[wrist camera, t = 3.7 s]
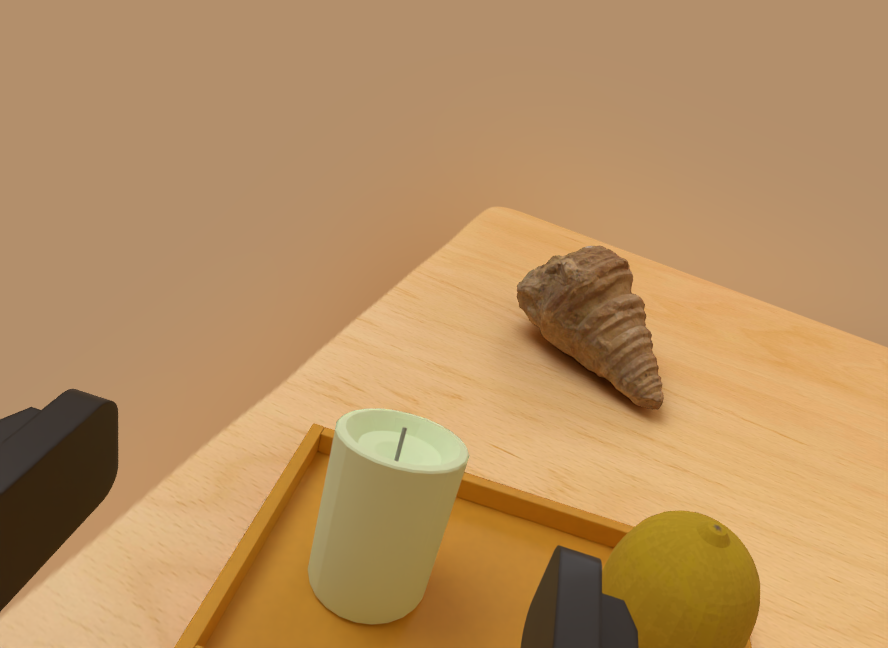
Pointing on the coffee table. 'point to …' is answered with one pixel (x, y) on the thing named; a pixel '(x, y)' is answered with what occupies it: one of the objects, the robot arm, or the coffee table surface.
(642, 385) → the seashell
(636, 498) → the coffee table surface
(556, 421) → the coffee table surface
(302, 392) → the coffee table surface
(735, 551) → the lemon
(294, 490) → the yellow tray
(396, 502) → the candle
